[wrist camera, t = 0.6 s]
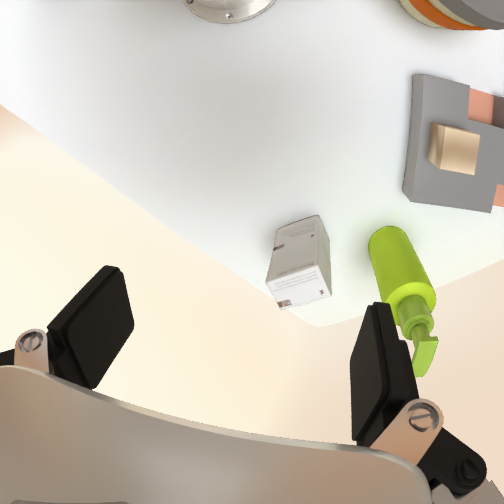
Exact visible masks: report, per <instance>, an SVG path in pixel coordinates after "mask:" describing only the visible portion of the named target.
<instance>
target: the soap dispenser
mask: <svg viewBox="0 0 504 504" xmlns="http://www.w3.org/2000/svg"><path fill="white" fill-rule="evenodd" d="M368 250H369V254H370V258H371V261H372V265H373V269H374V272H375V276H376V280H377V284H378V288H379V292H380V296H381V300H382V302H383V303H389V304H390V306H391V309H392V313H393V317H394V321H395V325H398V326H400V327H401V331H402V334H403V336H404V337H405V338H406V339H409V340H413V343H414V347H415V352H414V354H413V358H412V361H411V362H412V366H413V371H414V375H415V377H423V376H424V375H425V374H426V372H427V370H428V369H429V367H430V365H431V362H432V360H433V356H434V354H435V351H436V348H437V344H438V338H437V337H430V335H429V333H430V332H431V331H432V329H433V326H434V321H433V318H432V315H431V312H432V311H433V309H434V307H435V304H436V294H435V291H434V289H433V287H432V285H431V283H430V281H429V279H428V277H427V274H426V272H425V270H424V268H423V266H422V264H421V262H420V260H419V258H418V256H417V254H416V252H415V250H414V249H413V247H412V245H411V243H410V241H409V239H408V237H407V235H406V234H405V233H404V231H402V230H401V229H399V228H397V227H393V226H388V227H383V228H381V229H379V230H378V231H376V232H375V233H374V234H373V235H372V237H371V238H370V241H369V244H368Z"/></svg>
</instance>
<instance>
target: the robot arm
mask: <svg viewBox="0 0 504 504" xmlns="http://www.w3.org/2000/svg"><path fill="white" fill-rule="evenodd" d="M192 1H194V2H193V3H192V4H191V2H192ZM275 1H276V0H183V2H184V3H185V5H186V6H187V7H188V8H189V9H190V10H191V11H192V12H193V13H195V14H196V15H198V16H200V17H202V18H204V19H206V20H209V21H213V22H219V23H235V22H240V21H245V20H248V19H250V18H253V17H255V16H257V15H259V14H261V13H263V12H264V11H265V10H266V9H268V8H269V7H270V6H271V5H272V4H273V3H274V2H275ZM231 15H232V16H233V17H232V18H231V19H230V18H229V16H231ZM47 329H48V332H47V333H45V332H44V331H42V330H40V329H31V330H28V331H26V332H24V333H23V334H21V335H20V336H19V338H18V339H17V341H16V344H15V349H11V350H8V351H5V352H1V353H0V504H504V497H503V496H502V494H501V493H500V491H499V490H498V488H497V487H496V486H495V484H494V483H493V481H492V480H491V481H490V482H488V480H487V479H486V478H485V477H486V473H487V468H486V464H485V462H484V460H483V458H482V457H481V456H480V455H478V454H477V453H476V452H474V451H473V450H472V449H471V448H469V447H468V446H467V445H465V444H464V443H462V442H461V441H460V440H459V439H457V438H456V437H455V436H453V435H452V434H451V433H449V432H448V431H447V430H445V429H444V428H443V427H442V425H443V414H442V411H441V410H440V408H439V407H438V406H437V405H436V404H435V403H433V402H432V401H429V400H426V399H419V395H418V389H417V384H416V380H415V375H414V371H413V366H412V362H411V358H410V354H409V350H408V346H407V343H406V341H405V340H399V338H398V333H397V329H396V325H395V321H394V317H393V313H392V309H391V306H390V304H389V303H383V302H374V303H373V305H368V307H367V310H366V313H365V316H364V319H363V322H362V326H361V329H360V332H359V335H358V338H357V341H356V344H355V347H354V349H353V352H352V355H351V359H350V380H351V411H352V440H353V441H357V446H355V445H345V444H336V443H326V442H325V443H324V442H315V441H305V440H297V439H288V438H281V437H274V436H267V435H259V434H254V433H248V432H242V431H236V430H231V429H226V428H221V427H216V426H212V425H207V424H203V423H198V422H194V421H189V420H186V419H182V418H178V417H173V416H170V415H166V414H163V413H159V412H156V411H152V410H149V409H145V408H142V407H139V406H135V405H132V404H129V403H126V402H123V401H120V400H117V399H114V398H112V397H109V396H106V395H103V394H100V393H97V392H95V391H92V389H94V388H96V387H97V385H98V384H99V383H100V381H101V379H102V378H103V376H104V375H105V373H106V371H107V370H108V368H109V367H110V365H111V363H112V362H113V360H114V359H115V357H116V356H117V354H118V353H119V351H120V350H121V348H122V347H123V345H124V343H125V342H126V340H127V339H128V337H129V336H130V334H131V333H132V331H133V329H134V319H133V315H132V311H131V307H130V302H129V298H128V294H127V289H126V284H125V280H124V275H123V273H122V272H121V271H120V269H119V268H118V267H114V266H108V265H106V266H104V267H103V268H101V269H100V270H99V271H98V272H97V273H96V274H95V276H94V277H93V278H92V279H91V280H90V281H89V282H88V283H87V284H86V285H85V286H84V287H83V288H82V289H81V290H80V291H79V292H78V293H77V294H76V295H75V296H74V297H73V299H72V300H71V301H70V302H69V303H68V304H67V305H66V306H65V307H64V308H63V310H62V311H61V312H60V313H59V314H58V315H57V316H56V317H55V318H54V319H53V320H52V321H51V323H50V324H49V325H48V326H47Z"/></svg>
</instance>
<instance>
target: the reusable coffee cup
mask: <svg viewBox="0 0 504 504" xmlns="http://www.w3.org/2000/svg"><path fill="white" fill-rule="evenodd" d="M399 1H400V3H401V5H402V6H403V7H404V9H405V10H406V11H407V12H408V13H409V14H410V15H411V16H412V17H413V18H415V19H416V20H418V21H419V22H421V23H423V24H425V25H428V26H431V27H437V28H443V27H445V28H448V29H453V30H487V29H492V30H500V29H504V0H399Z"/></svg>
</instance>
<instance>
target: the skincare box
mask: <svg viewBox="0 0 504 504" xmlns="http://www.w3.org/2000/svg"><path fill="white" fill-rule="evenodd" d="M266 284H267V286H268V288H269V290H270V291H271V293H272V295H273V297H274V299H275V300H276V302H277V304H278V306H279V308H280V309H281V310H282V309H286V308H290V307H293V306H300V305H305V304H309V303H311V302H313V301H315V300H319V299H322V298H326V297H329V296H331V295H332V290H331V262H330V244H329V238H328V236H327V233H326V231H325V228H324V226H323V224H322V221H321V219H320V217H319V216H313V217H310V218H307V219H303V220H300V221H298V222H295V223H292V224H290V225H287V226H284V227H282V228H280V229H279V230H278V232H277V236H276V241H275V245H274V249H273V253H272V257H271V262H270V265H269V270H268V273H267V278H266Z"/></svg>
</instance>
